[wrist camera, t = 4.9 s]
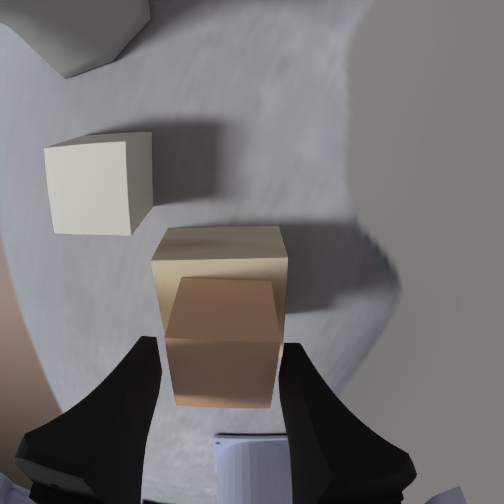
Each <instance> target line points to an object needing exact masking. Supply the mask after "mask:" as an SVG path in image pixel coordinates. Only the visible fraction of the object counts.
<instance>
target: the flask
mask: <svg viewBox="0 0 504 504" xmlns="http://www.w3.org/2000/svg"><path fill="white" fill-rule="evenodd" d="M150 20H151V15H150V7H149V0H0V22H1V23H3V24H4V25H6V26H8V27H10V28H11V29H12V30H13V31H14V32H15V33H17V34H18V35H19V36H20V37H21V38H22V40H23V41H24V42H25V43H26V44H27V45H28V46H29V47H30V48H31V49H32V50H33V51H34V52H35V53H36V54H38V55H39V56H40V57H41V58H42V59H43V60H44V61H46V62H47V63H48V64H49V65H50V66H51V67H52V68H54V69H55V70H56V71H57V72H58V73H59V74H60V75H62V76H63V77H64V78H65V79H68V78H70V77H72V76H75V75H77V74H80V73H82V72H85V71H88V70H90V69H93V68H96V67H99V66H101V65H104V64H107V63H110V62H113V61H114V59H115V58H116V57H117V56H118V55H119V53H120V52H121V51H122V50H123V49H124V48H125V47H126V46H127V44H128V43H129V42H130V41H131V40H132V39H133V38H134V37H135V36H136V35H137V33H138V32H139V31H140V30H141V29H142V28H143V27H144V26H145V25H146V24H147V23H148V22H149V21H150Z"/></svg>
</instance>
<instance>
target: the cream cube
mask: <svg viewBox="0 0 504 504" xmlns="http://www.w3.org/2000/svg"><path fill="white" fill-rule="evenodd" d="M44 153H45V165H46V176H47V185H48V193H49V201H50V208H51V214H52V221H53V227H54V232H55V234H94V235H129V236H131V235H132V234H133V232H134V231H135V230H136V228H137V227H138V226H139V224H140V223H141V222H142V220H143V219H144V218H145V217H146V215H147V214H148V213H149V211H150V210H151V209H152V207H153V180H152V132H130V133H113V134H99V135H88V136H81V137H78V138H74V139H71V140H68V141H65V142H61V143H58V144H55V145H52V146H49V147H46V148H44Z"/></svg>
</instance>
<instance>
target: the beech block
mask: <svg viewBox="0 0 504 504" xmlns="http://www.w3.org/2000/svg"><path fill="white" fill-rule="evenodd" d="M151 265H152V271H153V276H154V282H155V287H156V293H157V298H158V303H159V308H160V313H161V318H162V323H163V327H164V332H165V333H166V330H167V326H168V322H169V319H170V315H171V311H172V308H173V304H174V300H175V297H176V293H177V290H178V286H179V283H180V280H181V278H204V279H233V280H268V281H271V283H272V289H273V295H274V302H275V308H276V314H277V321H278V327H279V333H280V340H281V344H280V350H279V357H278V358H282V354H283V339H284V323H285V307H286V289H287V269H288V256H287V252H286V249H285V245H284V242H283V239H282V235H281V232H280V228H279V225H272V226H226V227H192V228H168V229H167V231H166V233H165V234H164V236H163V238H162V240H161V242H160V244H159V246H158V248H157V250H156V252H155V253H154V255H153V257H152V259H151Z"/></svg>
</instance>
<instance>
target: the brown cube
mask: <svg viewBox="0 0 504 504" xmlns="http://www.w3.org/2000/svg"><path fill="white" fill-rule="evenodd" d="M164 339H165V345H166V351H167V358H168V363H169V369H170V375H171V380H172V386H173V391H174V396H175V401H176V405H183V406H197V407H216V408H270V406H271V400H272V394H273V388H274V382H275V376H276V369H277V363H278V357H279V350H280V344H281V340H280V333H279V327H278V321H277V314H276V308H275V302H274V295H273V289H272V283H271V281H268V280H233V279H204V278H181V280H180V283H179V286H178V290H177V293H176V297H175V300H174V304H173V308H172V311H171V315H170V319H169V322H168V326H167V330H166V333H165V337H164Z"/></svg>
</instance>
